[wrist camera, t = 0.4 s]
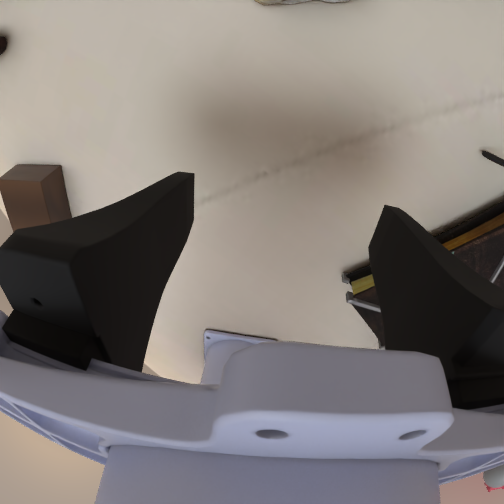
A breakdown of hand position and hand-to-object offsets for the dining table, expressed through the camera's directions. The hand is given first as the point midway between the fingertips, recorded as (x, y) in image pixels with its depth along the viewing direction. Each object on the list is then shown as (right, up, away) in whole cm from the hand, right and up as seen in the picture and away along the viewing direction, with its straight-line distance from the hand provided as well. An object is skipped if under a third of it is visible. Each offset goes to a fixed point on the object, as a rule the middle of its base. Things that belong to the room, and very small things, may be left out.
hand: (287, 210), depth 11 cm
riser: (-21, +4, +12) cm, 24 cm away
